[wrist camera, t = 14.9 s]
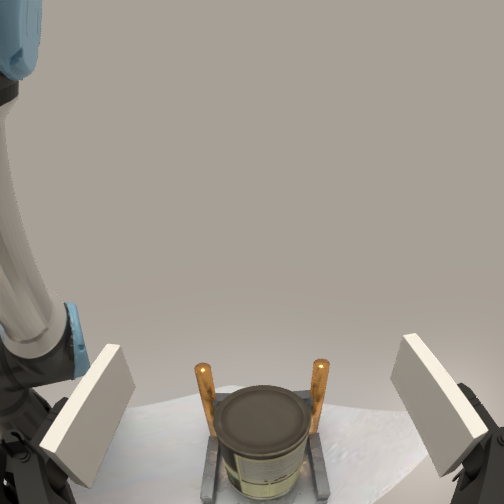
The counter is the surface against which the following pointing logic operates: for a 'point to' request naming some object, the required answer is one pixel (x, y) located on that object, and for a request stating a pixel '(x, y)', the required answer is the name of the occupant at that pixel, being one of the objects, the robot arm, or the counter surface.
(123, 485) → the counter surface
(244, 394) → the coffee can
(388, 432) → the counter surface
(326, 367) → the keeper bracket
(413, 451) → the counter surface
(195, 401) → the counter surface
